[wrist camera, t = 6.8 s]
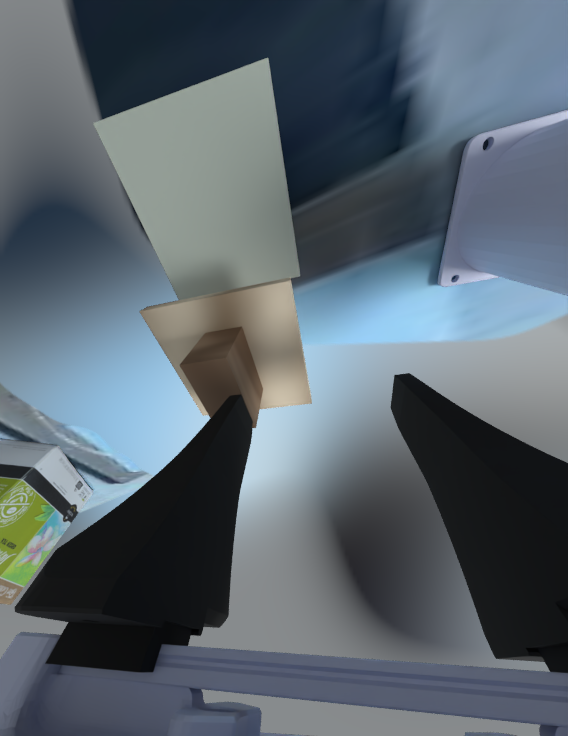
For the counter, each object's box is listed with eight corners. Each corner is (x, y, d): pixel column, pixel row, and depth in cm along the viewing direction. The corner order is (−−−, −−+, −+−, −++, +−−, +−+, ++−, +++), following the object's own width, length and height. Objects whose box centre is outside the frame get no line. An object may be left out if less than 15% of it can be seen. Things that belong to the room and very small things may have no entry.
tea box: (98, 490, 40) (12, 607, 28) (43, 484, 40) (-68, 601, 27) (59, 443, 31) (-89, 584, 19) (-11, 435, 31) (-209, 573, 19)
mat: (269, 65, 11) (267, 57, 10) (300, 274, 16) (300, 276, 16) (101, 127, 12) (92, 123, 12) (182, 299, 18) (179, 301, 17)
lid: (290, 277, 12) (288, 302, 8) (311, 396, 17) (315, 443, 13) (147, 306, 13) (91, 339, 9) (206, 408, 18) (184, 454, 14)
